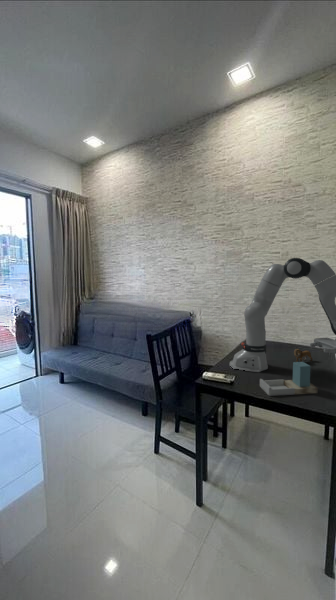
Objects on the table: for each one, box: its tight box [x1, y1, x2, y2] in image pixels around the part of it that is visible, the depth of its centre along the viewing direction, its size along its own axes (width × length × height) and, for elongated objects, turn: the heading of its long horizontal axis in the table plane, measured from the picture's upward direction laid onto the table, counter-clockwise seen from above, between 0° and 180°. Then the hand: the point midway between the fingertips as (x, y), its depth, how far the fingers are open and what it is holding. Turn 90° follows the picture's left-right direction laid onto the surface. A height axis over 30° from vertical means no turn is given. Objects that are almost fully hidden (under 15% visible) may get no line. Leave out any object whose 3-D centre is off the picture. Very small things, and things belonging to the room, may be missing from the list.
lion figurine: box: [293, 348, 313, 362], centre depth 160 cm, size 15×5×9 cm, turn 115°
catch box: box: [259, 378, 296, 397], centre depth 122 cm, size 12×10×4 cm
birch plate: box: [283, 379, 318, 395], centre depth 123 cm, size 11×10×2 cm
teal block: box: [292, 361, 311, 387], centre depth 122 cm, size 5×6×10 cm
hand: (317, 347), depth 121 cm, fingers open, 8 cm apart
